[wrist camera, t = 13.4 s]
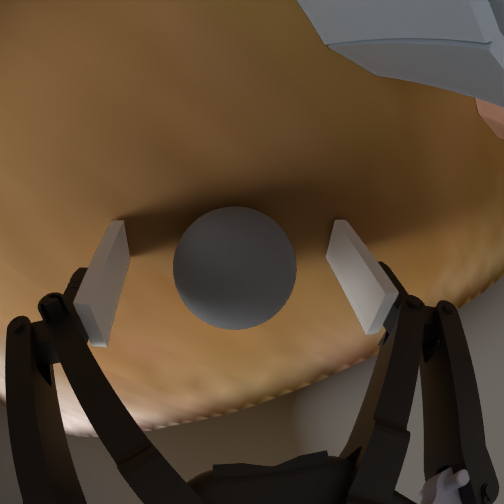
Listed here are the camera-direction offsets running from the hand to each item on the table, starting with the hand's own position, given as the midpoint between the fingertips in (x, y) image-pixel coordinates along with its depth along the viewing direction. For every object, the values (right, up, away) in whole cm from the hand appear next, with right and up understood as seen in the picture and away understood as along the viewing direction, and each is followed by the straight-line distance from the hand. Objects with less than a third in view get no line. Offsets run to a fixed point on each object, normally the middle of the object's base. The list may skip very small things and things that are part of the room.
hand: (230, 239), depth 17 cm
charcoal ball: (0, 0, 0) cm, 0 cm away
